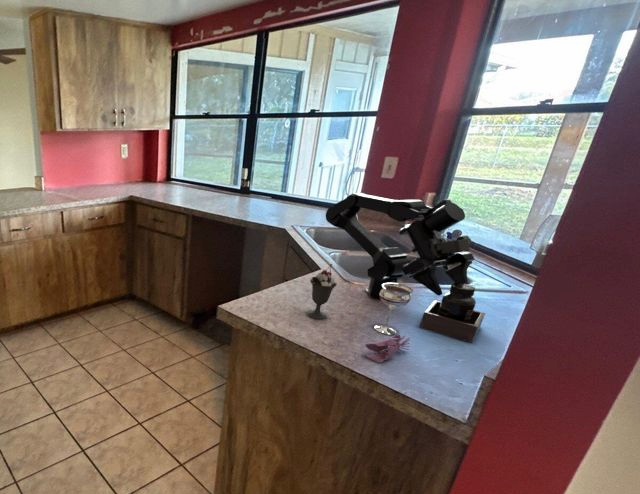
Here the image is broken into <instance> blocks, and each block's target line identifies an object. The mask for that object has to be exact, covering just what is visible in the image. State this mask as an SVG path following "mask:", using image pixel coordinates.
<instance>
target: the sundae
mask: <svg viewBox="0 0 640 494" xmlns="http://www.w3.org/2000/svg"><path fill="white" fill-rule="evenodd" d="M332 266H333V264H332V263H330V264H329V266H328V268H329V271H327V270H328V268H326V269H323V270H322V271H320V272H319V273H317V274H316V276H312V277H311V279H310V280H309V282H310V284H311V285H312V286H311V287H312V288H311V298H312V302H313V303H315V304H316V306H315V309H314V310H309V311H308V312H307V313H306V314H307V316H308V317H310V318H311V319H315V320H325V319H326V318H327V315H326V314H325V313H324V312H321V307H322V305H325V304H326V303H328V301H329V299H330V297H331V294H332V292H333V289H334V288H336V287H337V285H338V283H337V282H335V279H334V278H333V276H332V275H333V273H332V272H331V271H332Z"/></svg>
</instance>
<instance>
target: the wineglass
mask: <svg viewBox="0 0 640 494" xmlns="http://www.w3.org/2000/svg"><path fill="white" fill-rule="evenodd" d="M382 287H383V289H382V290H381V291H380V294H379V295H380V299H379V300H381V302H382V303H383V305H385V306H387V307H388V313H387V318H386V323H385V325H384V324H383V325H382V324H379V325H378V324H377V325H375V326H374V329H375V330H376V331H377V332H379V333H381V334H384V335H397V330H396V329H394V328H393V327H391V326H388V325H389V323H390V319H391V317H392V315H393V311H394V310H395V309H398V308H402V307H405V306H407V305H408V304H409V303H410V302H411V299H412V293H413V292H414V290H413V288H411V287H410V286H408V285H406V284H405V285H404V284H402V283H397V284H396V283H385V284H383V285H382Z"/></svg>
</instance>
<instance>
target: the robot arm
mask: <svg viewBox="0 0 640 494" xmlns="http://www.w3.org/2000/svg"><path fill="white" fill-rule="evenodd" d="M361 209H366V210H369V211H374V212H378V213H383V214H385V215H387V216H388V217H389V218H390V219H392V220H394V221H397V222H400V223H403V222H411V223H409V224H402V225H401V228H400V230H399V231H398V235H400V236H401V235H408V237H409V239H410V241H411V243H412V245H413V246H414V247H413V248H412V249H411V252H412V254H413V253H414V254H416V253H417V254H418V256H419V257H417V258H415V259H413V260H411V259H409V254H406V253H405V252H404V251H403V250H402V249H401V247H399V246H395V247H387V246H386V245H385V244H384V243H383V242H382V241H381V240H379V239H378V237H376V236H375V235H374V233H372V232H371V231H370V230H369V229H367V228H366V226H365V225H363V224H362V223H361V222H360V221H359V220H358V213H359V212H360V211H361ZM465 218H466V215H465V211H464V209H463V208H462V207H460V206H459V205H458V204H457V203H454V202H452V200H451V199H450V198H445V199H442V200H440V201H439V202H438V203H436V204H435V205H434V206H432V207H431V206H429V205H426V203H425V201H423V200H421V199H400V200H399V199H391V198H386V197H380V196H377V195H371V194H366V193H364V192H357V193H351V194H349V195H348V196H347V197H345V198H343V199H342V200H340V201H337V202H336V203H334V204H333V205H332V206H329V207H328V208H327V210H326V212H325V220H326V222H327V223H328V224H330V225H332V226H333V227H336V228H338V229H339V230H343V231H344V232H346V234H348V236H349V237H351V239H353V240H354V241H355V242H356V244H358V246H360V247H361V248H362V249H363V250H364V251H365V252H366V253H367V254H368V255H369V256H370V257H371V258H372V264H373V266H371V267H369V268H367V271H366V272H367V277H369V278H370V280H369V283H368V288H366V289H365V292H366V293H367V294H368V296H369V297H370V298H371V299H378V300H381V299H380V295H379V294H380V291H381V290H382V289H383V287H382V285H383V284H385V283H396V284H398V279H402V278H403V277H404V276H405V277H407V276H409V278H410V279H413V280H414V281H417V282H418V283H419V284H421V285H422V286H423V287H425V288H427V289H428V290H429V291H431V292H432V293H433V294H435V295H436V296H438V297H439V296H442V295H443V291H442V288H441V285H440V283H439V281H438V279H437V276H436V271H437V268H440V267H441V268H443V269H444V270H445V271H444V273H445V274H446V275H447V276H448V277H449V279H451V281H453V283H463V284H468V285H469V281H468V268H469V267H470V265H472V264H473V262H474V261H476V259H475V257H474V255H473V254H472V252H470V251H471V247H473V245H474V242H473V241H472V239H471V238H470V237H469V235H461V236H457V237H456V238H455V240H446V239H445V238H444V237H439V236H438V234H437V233H442V232H444V231H446V230H447V229H449V228H452V227H453V226H455V225H457V224H458V223H460V222H462V221H464V220H465Z"/></svg>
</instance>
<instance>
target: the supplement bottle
mask: <svg viewBox="0 0 640 494" xmlns="http://www.w3.org/2000/svg"><path fill="white" fill-rule="evenodd" d="M475 291H476V287H475V286H473V285H470V284H469V283H468V284H463V283H455V282H453V283H451V285H450V288H449V291H448V292H445V293H444V294H442V295H443V296H442V298H441V301H440V302H441V304H440V307H439V310H438V313H437V315H440V316H443V317H447V318H451V319H454V320H458V321H462V322H465V323H469V321H470V319H471V316H472V313H473V310H475V307H476V304H477V301H476V299H475V297H473V296H475Z"/></svg>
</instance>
